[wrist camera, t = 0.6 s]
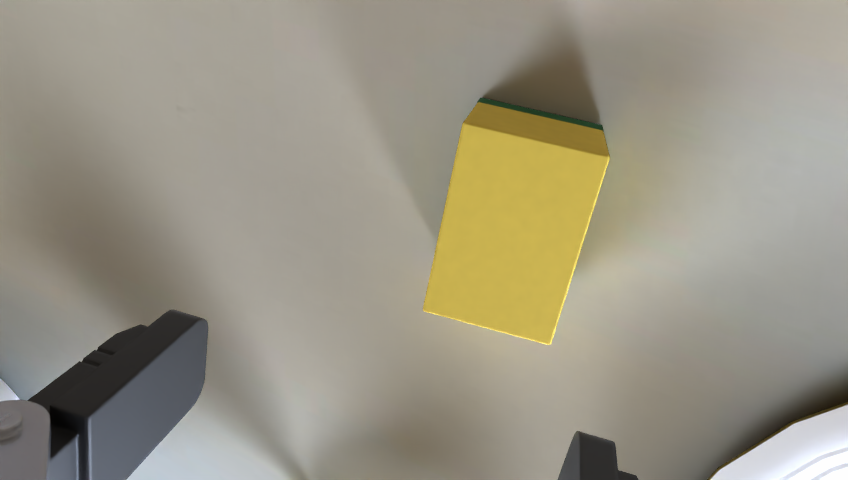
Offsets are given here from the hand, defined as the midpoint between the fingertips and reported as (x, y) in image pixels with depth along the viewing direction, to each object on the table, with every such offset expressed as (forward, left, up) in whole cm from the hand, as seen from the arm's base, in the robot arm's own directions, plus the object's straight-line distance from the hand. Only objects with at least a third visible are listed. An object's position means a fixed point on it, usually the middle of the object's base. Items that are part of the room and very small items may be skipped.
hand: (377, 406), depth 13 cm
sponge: (0, +2, -16) cm, 16 cm away
